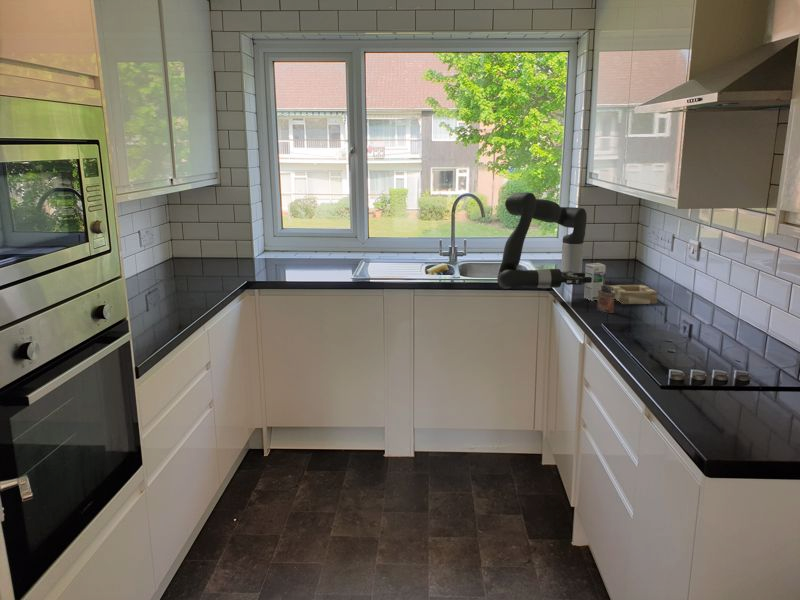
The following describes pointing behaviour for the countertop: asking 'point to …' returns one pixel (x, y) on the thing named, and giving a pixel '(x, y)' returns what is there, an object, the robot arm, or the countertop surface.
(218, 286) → the countertop surface
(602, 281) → the syrup box
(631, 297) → the collar
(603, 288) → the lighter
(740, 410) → the countertop surface
